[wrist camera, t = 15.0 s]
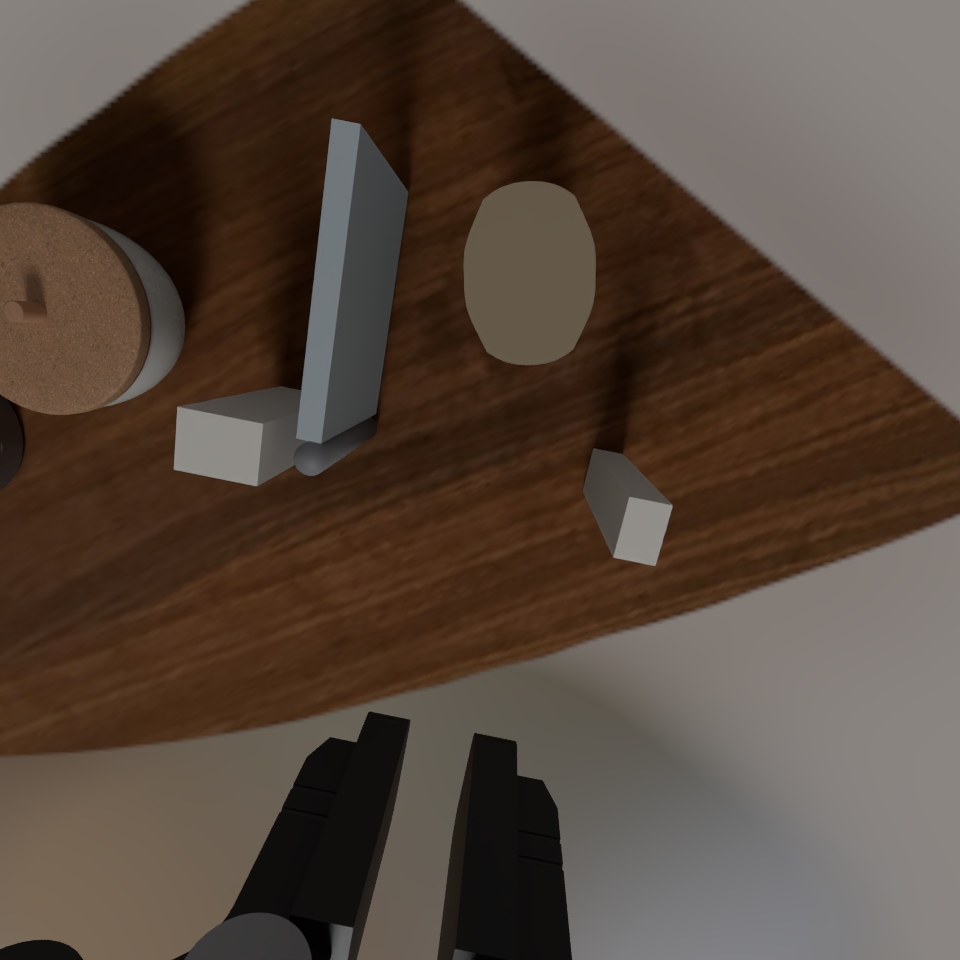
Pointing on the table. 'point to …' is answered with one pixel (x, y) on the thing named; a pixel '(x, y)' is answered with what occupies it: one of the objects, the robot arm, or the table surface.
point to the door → (349, 299)
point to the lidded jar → (80, 312)
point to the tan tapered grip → (529, 272)
